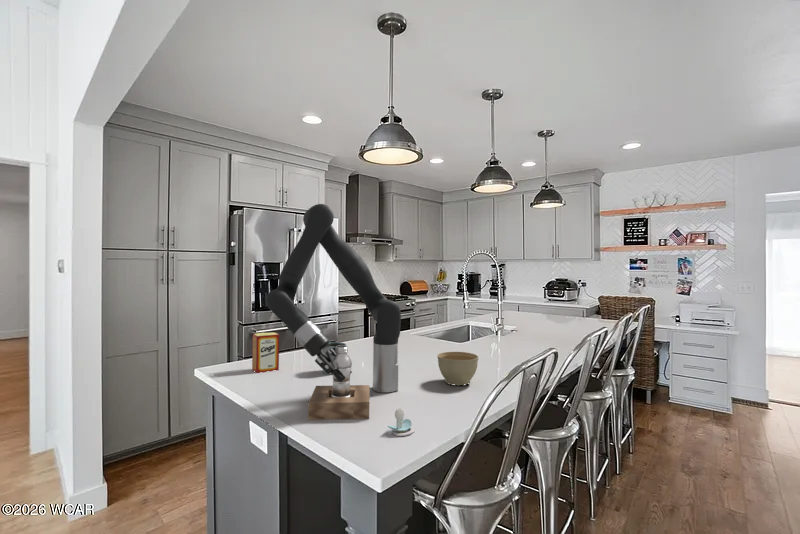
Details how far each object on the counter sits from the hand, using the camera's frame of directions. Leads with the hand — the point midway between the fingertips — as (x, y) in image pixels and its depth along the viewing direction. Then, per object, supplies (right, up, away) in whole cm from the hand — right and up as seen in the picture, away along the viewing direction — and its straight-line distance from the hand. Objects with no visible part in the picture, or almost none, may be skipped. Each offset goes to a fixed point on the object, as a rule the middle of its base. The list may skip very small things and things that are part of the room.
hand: (346, 377), depth 125 cm
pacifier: (+18, -11, -16) cm, 26 cm away
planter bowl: (+40, -11, +31) cm, 52 cm away
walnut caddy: (-2, -10, 0) cm, 10 cm away
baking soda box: (-42, -10, +46) cm, 63 cm away
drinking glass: (-11, -10, +45) cm, 47 cm away
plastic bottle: (-2, -10, 0) cm, 11 cm away
